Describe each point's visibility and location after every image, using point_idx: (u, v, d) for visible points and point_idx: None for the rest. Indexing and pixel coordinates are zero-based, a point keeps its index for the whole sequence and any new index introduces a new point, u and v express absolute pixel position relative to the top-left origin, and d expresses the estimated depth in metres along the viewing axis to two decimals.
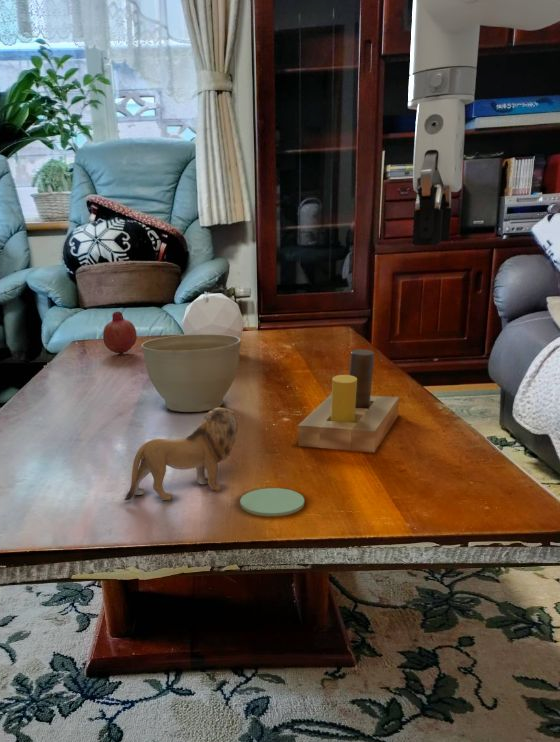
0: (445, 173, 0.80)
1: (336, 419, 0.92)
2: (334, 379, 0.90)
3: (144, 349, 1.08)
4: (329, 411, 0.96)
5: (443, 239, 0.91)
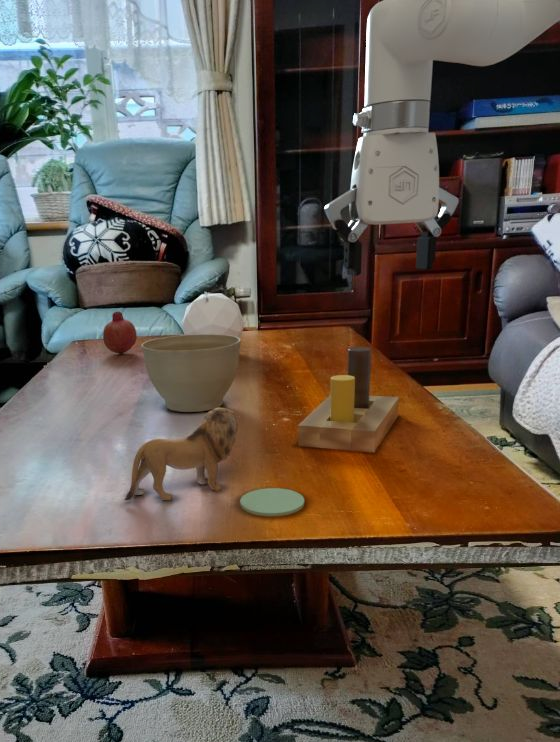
0: (359, 207, 0.82)
1: (335, 418, 0.92)
2: (332, 378, 0.91)
3: (144, 349, 1.08)
4: (329, 411, 0.96)
5: (425, 268, 0.87)
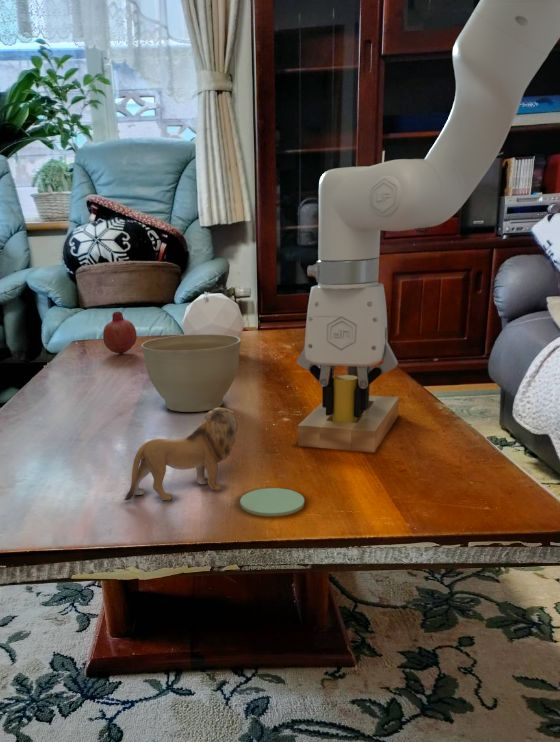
0: None
1: (338, 418, 0.92)
2: (335, 378, 0.91)
3: (144, 349, 1.08)
4: None
5: (355, 415, 0.91)
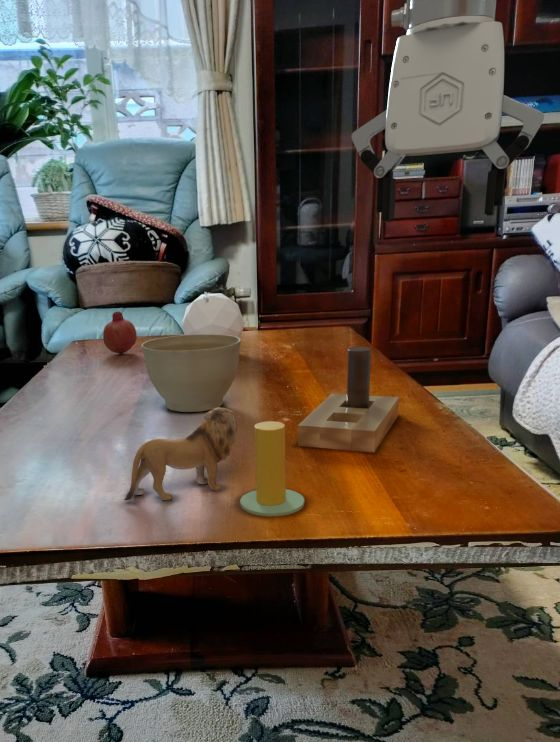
0: None
1: (261, 477, 0.72)
2: (256, 426, 0.71)
3: (144, 349, 1.08)
4: (329, 411, 0.96)
5: None
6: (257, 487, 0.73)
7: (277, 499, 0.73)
